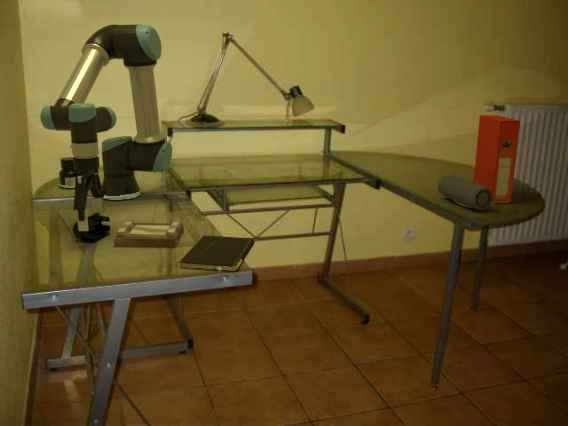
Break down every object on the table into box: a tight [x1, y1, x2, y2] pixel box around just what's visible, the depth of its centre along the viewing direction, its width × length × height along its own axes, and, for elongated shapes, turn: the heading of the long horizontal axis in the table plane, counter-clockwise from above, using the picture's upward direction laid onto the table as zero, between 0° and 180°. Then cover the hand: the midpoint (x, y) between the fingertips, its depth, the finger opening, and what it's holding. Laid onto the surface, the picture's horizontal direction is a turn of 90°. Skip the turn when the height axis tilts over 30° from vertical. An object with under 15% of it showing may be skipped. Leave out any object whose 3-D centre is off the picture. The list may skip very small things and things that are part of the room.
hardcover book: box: [178, 234, 255, 269], centre depth 168 cm, size 16×23×2 cm
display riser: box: [113, 219, 185, 248], centre depth 181 cm, size 16×18×4 cm
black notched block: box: [72, 213, 111, 244], centre depth 181 cm, size 10×7×7 cm
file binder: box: [472, 114, 521, 202], centre depth 228 cm, size 8×17×32 cm, turn 7°
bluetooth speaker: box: [437, 174, 493, 211], centre depth 222 cm, size 23×9×10 cm, turn 20°
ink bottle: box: [58, 156, 80, 186], centre depth 241 cm, size 10×9×12 cm
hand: (91, 224), depth 180 cm, fingers open, 13 cm apart
